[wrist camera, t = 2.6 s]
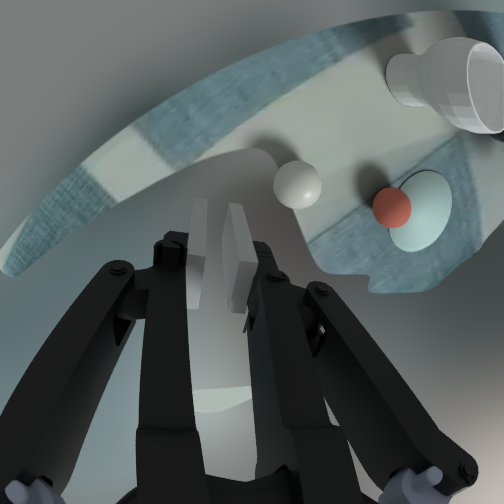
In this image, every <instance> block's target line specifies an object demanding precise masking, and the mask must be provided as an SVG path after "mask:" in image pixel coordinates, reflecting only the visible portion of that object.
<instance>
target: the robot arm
mask: <svg viewBox="0 0 504 504" xmlns="http://www.w3.org/2000/svg"><path fill="white" fill-rule="evenodd" d="M490 135H491V136H492V137H493V138H494V139H496V140H498V141H501V142H504V130H503V131H502V132H500V133H495V134H490ZM206 214H207V199H200V198H194V204H193V210H192V217H191V224H190V231H189V233H183V232H175V231H169V232H168V233H166V234H165V235H164V239H163V240H160V241H158V242H156V244H155V245H154V258H153V266H152V267H150V268H147V269H142V270H134V267H133V265H132V264H131V263H129V262H127V261H123V260H114V261H110V262H108V263H106V264H105V265H103V267H102V268H101V269H100V270H99V271H98V273H97V274H96V275H95V276H94V278H93V279H92V280H91V281H90V282H89V284H88V285H87V286H86V287H85V288H84V290H83V291H82V292H81V294H80V295H79V296H78V297H77V299H76V300H75V301H74V302H73V304H72V305H71V306H70V308H69V309H68V310H67V312H66V313H65V314H64V316H63V317H62V318H61V320H60V321H59V323H58V324H57V325H56V327H55V328H54V329H53V331H52V332H51V334H50V335H49V337H48V338H47V339H46V341H45V342H44V344H43V345H42V347H41V348H40V350H39V351H38V353H37V354H36V356H35V357H34V359H33V361H32V362H31V363H30V365H29V367H28V368H27V370H26V371H25V373H24V375H23V376H22V378H21V380H20V381H19V383H18V385H17V387H16V388H15V390H14V392H13V393H12V395H11V397H10V399H9V401H8V402H7V404H6V406H5V408H4V410H3V412H2V414H1V416H0V504H66V503H65V501H64V500H63V498H62V497H61V496H60V495H61V493H62V492H63V491H64V489H65V487H66V486H67V484H68V482H69V480H70V478H71V475H72V473H73V470H74V468H75V464H76V462H77V458H78V456H79V453H80V451H81V448H82V445H83V442H84V440H85V437H86V434H87V432H88V429H89V427H90V424H91V421H92V419H93V416H94V414H95V411H96V409H97V406H98V404H99V402H100V399H101V397H102V394H103V392H104V390H105V388H106V385H107V383H108V381H109V379H110V376H111V374H112V372H113V370H114V367H115V365H116V363H117V361H118V359H119V356H120V354H121V352H122V350H123V348H124V346H125V344H126V342H127V340H128V338H129V336H130V333H131V332H132V329H133V327H134V325H135V323H136V320H137V319H145V328H144V337H143V348H142V360H141V374H140V394H139V424H138V428H137V431H136V474H137V487H135V488H134V489H132V490H131V491H129V492H128V493H127V494H126V495H125V496H124V497H122V499H120V500H119V501H118V502H117V503H116V504H448V503H449V501H450V500H451V498H452V497H453V496H454V495H456V494H457V493H459V492H461V491H463V490H465V489H467V488H468V487H470V486H472V485H473V484H474V483H475V482H476V480H477V477H478V465H477V463H476V461H475V459H474V458H473V457H472V456H471V455H470V454H468V453H467V452H466V451H465V450H463V449H462V448H461V447H460V446H458V445H457V444H456V443H454V442H453V441H452V440H451V439H450V438H449V437H447V436H446V435H445V434H444V433H442V432H441V431H440V430H439V429H438V427H437V426H436V424H435V423H434V421H433V420H432V418H431V417H430V416H429V414H428V413H427V411H426V410H425V409H424V407H423V406H422V404H421V403H420V401H419V400H418V399H417V397H416V396H415V394H414V393H413V392H412V390H411V389H410V388H409V386H408V385H407V383H406V382H405V381H404V379H403V378H402V377H401V375H400V374H399V373H398V371H397V370H396V369H395V367H394V366H393V365H392V363H391V362H390V361H389V360H388V358H387V357H386V355H385V354H384V353H383V351H382V350H381V349H380V347H379V346H378V345H377V343H376V342H375V341H374V340H373V338H372V337H371V336H370V334H369V333H368V332H367V331H366V329H365V328H364V327H363V326H362V324H361V323H360V322H359V320H358V319H357V318H356V317H355V315H354V314H353V313H352V312H351V310H350V309H349V308H348V307H347V305H346V304H345V303H344V302H343V300H342V299H341V298H340V297H339V295H338V294H337V293H336V292H335V290H333V288H332V287H330V286H329V285H327V284H326V283H322V282H318V281H313V282H310V283H309V284H308V285H307V288H306V289H305V288H302V287H299V286H295V285H293V284H291V283H290V279H289V277H288V276H287V275H286V274H285V273H283V272H282V271H279V269H278V267H277V264H276V262H275V259H274V257H273V254H272V251H271V249H270V247H269V246H268V245H267V244H265V243H264V242H258V241H252V238H251V235H250V232H249V228H248V225H247V221H246V218H245V214H244V211H243V207H242V205H241V204H235V203H229V207H228V212H227V217H226V222H225V227H224V233H223V238H222V253H223V265H224V275H225V286H226V296H227V305H228V312H232V313H245V311H246V307H247V305H248V310H249V312H248V316H247V319H246V323H245V326H244V330H243V333H245V332H246V329H247V336H248V350H249V363H250V375H251V388H252V400H253V412H254V423H255V434H256V446H257V464H256V469H255V480H252V481H248V482H242V481H236V480H230V479H225V478H220V477H216V476H211V475H207V474H205V469H204V463H203V456H202V449H201V443H200V437H199V433H198V431H197V429H196V424H195V415H194V405H193V395H192V384H191V372H190V359H189V343H188V324H187V308H189V309H198V306H199V299H200V291H201V285H202V277H203V271H204V264H205V258H206V217H207V215H206ZM321 326H323V328H324V329H325V332H324V334H323V333H322V332H321V330H320V328H321ZM323 396H324V397H323ZM324 398H325V400H326V402H327V403H328V405H329V407H330V409H331V411H332V412H333V414H334V416H335V418H336V419H337V421H338V423H339V425H340V426H336V425H332V423H331V422H330V419H329V416H328V412H327V408H326V405H325V401H324ZM347 439H348V441H349V443H350V445H351V447H352V448H353V450H354V452H355V454H356V456H357V457H358V459H359V461H360V463H361V464H362V466H363V468H364V469H365V471H366V473H367V474H368V476H369V477H370V478H371V479H372V481H373V482H374V483H375V484H376V485H377V486H378V487H379V488H380V489H381V490H382V491H383V493H382V494H381V495H380V496H379V499H378V502H379V503H377V502H376V501H374V500H373V499H371V498H370V497H368V496H367V495H365V494H363V493H362V492H361V490H360V487H359V482H358V479H357V475H356V471H355V467H354V463H353V459H352V456H351V452H350V449H349V445H348V441H347Z"/></svg>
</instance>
